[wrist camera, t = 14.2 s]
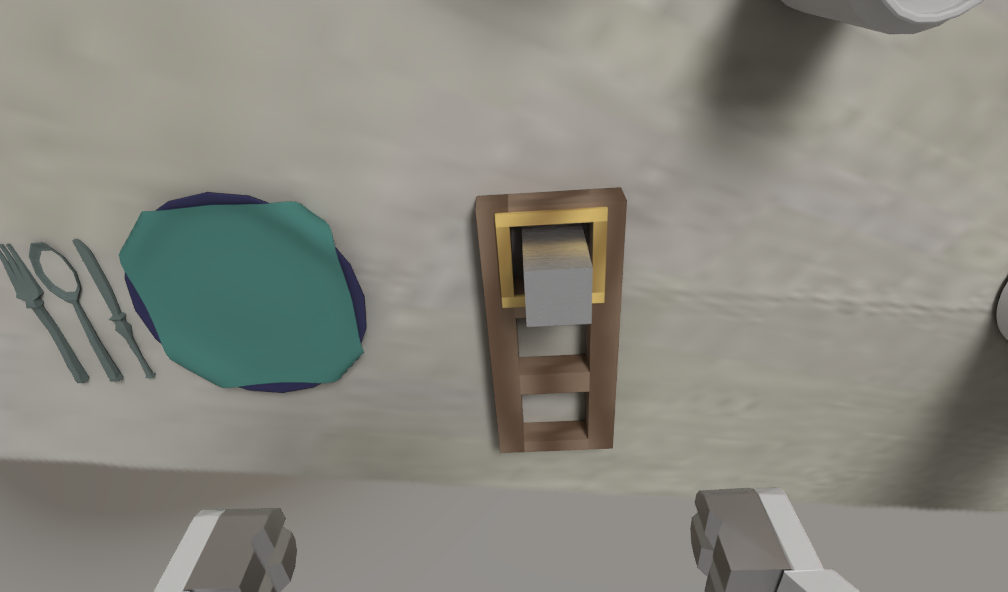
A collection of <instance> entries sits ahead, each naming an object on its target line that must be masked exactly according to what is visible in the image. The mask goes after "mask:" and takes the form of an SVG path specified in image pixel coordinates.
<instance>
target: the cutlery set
mask: <svg viewBox="0 0 1008 592" xmlns="http://www.w3.org/2000/svg"><path fill="white" fill-rule="evenodd" d="M73 243H74V245H75V247H76V249H77V251H78V252H79V254H80V256H81V258H82V260H83V261H84V263H85V265H86V267H87V269H88V271H89V272H90V274H91V276H92V278H93V280H94V282H95V283H96V285H97V287H98V289H99V291H100V292H101V294H102V296H103V298H104V300H105V302H106V303H107V305H108V307H109V309H110V311H111V313H112V314H113V316H112V317H111V318H110V319H109V320H112V321H114V322H115V324H116V329H115V330H116V331H117V332H118V333H119V334H121V335H122V336H123V337H124V338H125V339H126V341H127V342H128V344H129V346H130V348H131V349H132V351H133V352H134V354H135V355H136V356H137V358H138V360H139V362H140V364H141V366H142V368H143V370H144V372H145V374H146V378H153V377H154V375H155V374H156V373H152V371H151V370H150V368H149V367H148V365H147V363H146V362H145V360H144V359H143V357H142V355H141V353H140V351H139V349H138V347H137V345H136V343H135V341H134V339H133V338H132V331H131V325H130V324H129V323H127V322H126V321H125V316H126V314H125V313H121V312H120V309H119V305H118V303H117V300H116V298H115V295H114V293H113V291H112V289H111V287H110V285H109V283H108V281H107V279H106V277H105V275H104V273H103V271H102V270H101V268H100V266H99V264H98V262H97V260H96V259H95V257H94V255H93V253H92V252H91V250H90V249H89V248H88V247H87V246H86V245H85V244H84V243H82V242H81V241H80V240H78V239H74V240H73ZM6 246H7V247H8V249H9V250H10V252H11V253H12V255H13V257H14V259H15V260H14V259H13V257H12V256H11V254H10V253H9V252H8V250H7V249H6V247H5V246H4V245H3V244H0V248H1V249H2V250H3V252H4V253H5V255H6V257H7V259H8V260H7V259H6V258H5V256H4V255H3V253H2V252H1V251H0V259H1V261H2V263H3V265H4V267H5V269H6V271H7V274H8V276H9V278H10V280H11V282H12V284H13V286H14V288H15V291H16V293H17V295H16V298H18V299H21V300H24V301H26V308H32V309H33V310H34V312H35V313H36V315H37V316H38V318H39V319H40V320H41V322H42V323H43V324H44V326H45V327H46V328H47V329H48V331H49V333H50V334H51V336H52V338H53V340H54V341H55V343H56V345H57V347H58V349H59V350H60V352H61V354H62V356H63V358H64V361H65V363H66V365H67V367H68V368H69V370H70V371H71V373H72V375H73V376H74V379H75V381H76V382H77V383H84V382H85V381H86V380H87V379H88V378H89V376H88V374H87V373H86V372H85V370H84V369H83V367H82V366H81V364H80V363H79V361H78V360H77V358H76V356H75V354H74V352H73V350H72V348H71V347H70V345H69V343H68V342H67V340H66V339H65V337H64V335H63V334H62V332H61V331H60V329H59V327H58V326H57V324H56V323H55V322H54V320H53V319H52V318H51V317H50V315H49V314H48V313H47V311H46V310H45V308H44V307H43V306H42V304H43V303H44V301H43V300H42V299H41V298H40V297H39V296H40V295H42V294H43V293H44V292H43V290H42V289H41V287H40V286H39V285H38V283H37V282H36V280H35V279H34V277H33V276H32V274H31V273H30V271H29V270H28V269H27V267H26V266H25V264H24V263H23V261H22V260H21V258H20V257H19V256H18V254H17V253H16V251H15V250H14V248H13V247H12V246H11V244H6ZM47 250H52V251H53V252H55V253H56V254H58V255H59V256H61V257H62V259H63V260H64V261H65V263H66V264H67V265H68V266H69V268H70V269H71V270H72V271H73V273H74V276H75V279H76V282H77V285H78V286H77V289H76V291H75V292H65V291H64V290H62V289H60V288H58V287H57V286H55V285H54V284H53V283H52V282H51V281H50V280H49V279H48V277H47V276H46V275H45V274H44V272H43V269H42V267H41V264H40V262H39V259H40V255H41V251H47ZM119 257H120V262H121V265H122V267H123V269H124V271H125V281H126V284H127V287H128V290H129V293H130V296H131V299H132V302H133V305H134V308H135V311H136V312H137V314H138V315H139V316H140V318H141V319H142V321H143V322H144V323H145V325H146V326H147V328H148V329H149V330H150V332H151V333H152V335H153V336H154V338H155V339H156V340H157V341H159V342H160V343H161V344H162V346H163V348H164V351H165V353H166V354H167V356H168V357H169V359H171V360H172V361H174V362H175V363H177V364H179V365H181V366H182V367H184V368H186V369H188V370H189V371H191V372H193V373H195V374H197V375H199V376H201V377H202V378H204V379H206V380H208V381H210V382H212V383H214V384H215V385H217V386H220V387H223V388H231V387H240V388H243V389H246V390H252V391H265V392H278V393H284V392H290V391H296V390H302V389H308V388H313V387H315V386H317V385H319V384H321V383H329V382H334V381H336V380H338V379H340V378H341V377H342V375H343V374H344V373H346V372H347V370H348V368H349V367H351V366H352V365H353V363H354V361H356V360H358V359H359V357H360V355H361V354H363V353H364V352H363V349H362V346H361V342H362V339H363V336H364V333H365V331H366V312H365V296H364V294H363V292H362V289H361V287H360V285H359V283H358V280H357V278H356V276H355V273H354V271H353V269H352V267H351V264H350V263H349V262H348V261H347V260H346V259H345V257H344V256H343V255H342V254H341V253H340V252H339V250H338V249H337V248H336V247H335V246H334V241H333V236H332V232H331V229H330V227H329V225H328V224H327V223H326V222H325V221H324V220H323V219H321V218H320V217H318V216H316V215H315V214H314V213H312V212H311V211H310V210H308V209H307V208H306V207H304V206H303V205H302V204H300V203H297V202H278V203H268V202H265V201H262V200H260V199H257V198H254V197H252V196H249V195H237V194H225V193H213V192H205V193H201V194H197V195H192V196H188V197H184V198H180V199H175V200H171V201H168V202H167V203H165V204H164V205H163V206H161V207H160V208H158V209H157V210H156V211H142V212H141V214H140V216H139V218H138V220H137V222H136V224H135V226H134V228H133V229H132V231H131V233H130V235H129V237H128V238H127V240H126V242H125V244H124V246H123V247H122V249H121V251H120V253H119ZM29 258H30V261H31V263H32V266H33V268H34V271H35V273H36V275H37V276H38V277H39V279H40V280H41V281H42V282H43V283H44V285H45V286H46V287H47V288H48V289H49V291H51V292H52V293H54V294H55V295H57V296H58V297H60V298H62V299H63V300H65V301H67V302H70V303H72V304H73V306H74V308H75V311H76V313H77V316H78V318H79V320H80V322H81V324H82V326H83V328H84V330H85V333H86V335H87V337H88V339H89V342H90V344H91V346H92V347H93V349H94V351H95V353H96V355H97V357H98V359H99V361H100V362H101V364H102V366H103V368H104V370H105V372H106V374H107V376H108V378H109V379H110V382H111V381H120V380H121V378H122V377H123V376H122V375H121V374H120V372H119V371H118V369H117V368H116V366H115V365H114V363H113V362H112V360H111V359H110V357H109V355H108V354H107V352H106V350H105V349H104V347H103V346H102V344H101V342H100V341H99V339H98V337H97V336H96V334H95V332H94V330H93V328H92V326H91V324H90V322H89V320H88V319H87V317H86V315H85V313H84V311H83V309H82V307H81V305H80V303H79V301H78V294H79V290H80V286H81V285H80V282H79V279H78V276H77V273H76V271H75V270H74V269H73V267H72V266H71V265H70V264H69V262H68V261H67V260H66V259H65V257H63V256H62V255H60V254H59V253H58V252H56V251H55V250H53V249H52V248H50V247H49V246H47V245H46V244H44V243H43V242H41V243H31V245H30V252H29ZM8 261H9V262H10V263H9V262H8ZM15 261H16V262H17V263H16V262H15Z"/></svg>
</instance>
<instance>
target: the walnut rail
mask: <svg viewBox="0 0 1008 592" xmlns="http://www.w3.org/2000/svg"><path fill="white" fill-rule="evenodd" d="M626 207H627V200H626V198H625V195H624V193H623V191H622V189H621V188H604V189H587V190H571V191H554V192H537V193H521V194H504V195H487V196H477V201H476V209H475V210H476V220H477V230H478V240H479V249H480V259H481V269H482V279H483V288H484V298H485V308H486V318H487V327H488V337H489V347H490V357H491V366H492V376H493V386H494V396H495V405H496V415H497V425H498V435H499V444H500V453H511V452H536V451H560V450H585V449H610V448H613V434H614V417H615V399H616V382H617V364H618V347H619V329H620V312H621V294H622V277H623V259H624V242H625V224H626ZM583 222H589V235H588V251H589V255H590V259H591V263H592V267H593V278H592V324H587V349H586V354H581V355H560V356H539V357H519V349H518V334H517V319H516V318H526V305H525V287H524V278H521V279H514V274H513V259H512V244H511V229H510V227H514V226H531V225H549V224H566V223H583ZM568 392H586V405H585V420H584V421H561V422H537V423H523V409H522V395H524V394H546V393H568Z"/></svg>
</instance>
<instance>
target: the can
mask: <svg viewBox="0 0 1008 592" xmlns="http://www.w3.org/2000/svg"><path fill="white" fill-rule="evenodd" d="M781 1H782V2H783V3H784V4H785V5H786V6H788V7H791V8H793V9H796V10H798V11H801V12H804V13H808V14H812V15H816V16H820V17H824V18H828V19H831V20H835V21H839V22H843V23H847V24H851V25H855V26H859V27H863V28H867V29H871V30H875V31H879V32H882V33H886V34H915V33H918V32H921V31H924V30H927V29H930V28H933V27H936V26H939V25H941V24H943V23H944V22H946V21H948V20H949V19H952V18H955V17H958V16H960V15H962V14H963V13H965V12H967V11H968V10H970V9H971V8H973V7H975V6H976V5H978V4H979V3H981V2H983V1H984V0H781Z"/></svg>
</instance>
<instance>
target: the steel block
mask: <svg viewBox="0 0 1008 592" xmlns="http://www.w3.org/2000/svg"><path fill="white" fill-rule="evenodd" d="M522 246H523V269H524V287H525V305H526V322H527V327H537V326H556V325H576V324H592V278H593V267H592V263H591V259H590V255H589V251H588V247H587V243H586V239H585V235H584V231H583V227H582V223H566V224H549V225H531V226H522Z"/></svg>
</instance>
